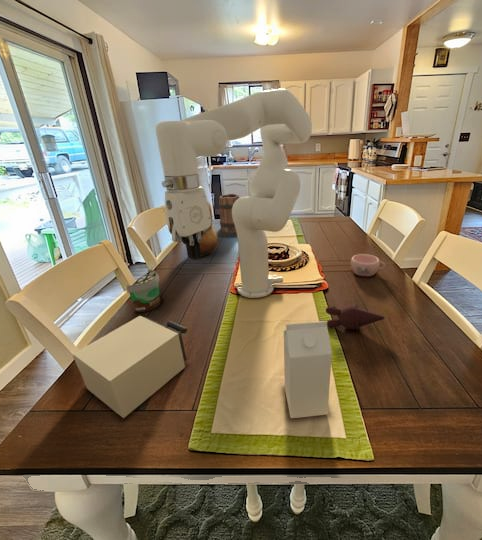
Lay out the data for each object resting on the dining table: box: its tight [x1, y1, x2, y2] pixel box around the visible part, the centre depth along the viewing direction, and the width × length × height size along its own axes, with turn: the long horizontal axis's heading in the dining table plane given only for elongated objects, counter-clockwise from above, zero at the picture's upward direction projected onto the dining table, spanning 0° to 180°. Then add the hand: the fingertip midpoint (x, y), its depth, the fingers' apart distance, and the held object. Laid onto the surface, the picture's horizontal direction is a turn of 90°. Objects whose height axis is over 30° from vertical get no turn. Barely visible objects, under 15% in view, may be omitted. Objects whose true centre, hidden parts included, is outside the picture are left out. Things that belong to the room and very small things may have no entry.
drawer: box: [145, 317, 188, 363], centre depth 66 cm, size 19×13×8 cm
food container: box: [126, 268, 161, 313], centre depth 91 cm, size 12×6×10 cm, turn 168°
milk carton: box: [283, 320, 333, 419], centre depth 53 cm, size 7×7×19 cm
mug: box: [350, 253, 386, 277], centre depth 106 cm, size 12×10×6 cm
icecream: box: [325, 304, 386, 331], centre depth 77 cm, size 7×7×15 cm
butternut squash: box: [200, 201, 219, 257], centre depth 127 cm, size 14×13×25 cm
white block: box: [72, 315, 186, 419], centre depth 63 cm, size 16×14×10 cm
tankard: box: [216, 193, 240, 238], centre depth 154 cm, size 24×17×20 cm
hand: (194, 258), depth 72 cm, fingers closed
